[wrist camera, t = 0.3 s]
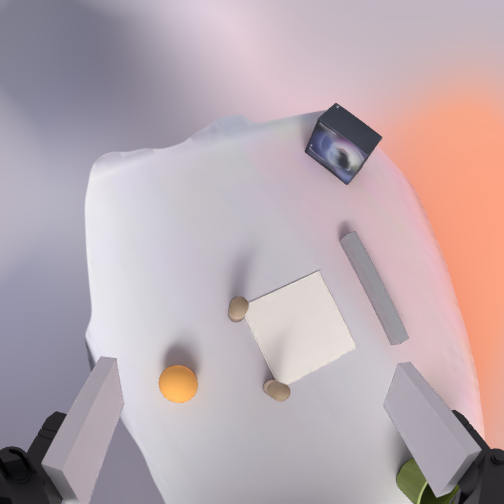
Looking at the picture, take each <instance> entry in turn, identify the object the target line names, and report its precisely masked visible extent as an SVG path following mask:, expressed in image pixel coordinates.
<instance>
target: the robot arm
mask: <svg viewBox="0 0 504 504" xmlns="http://www.w3.org/2000/svg"><path fill="white" fill-rule="evenodd" d="M123 406H124V400H123V395H122V390H121V384H120V378H119V372H118V366H117V359H116V358H109V357H102V356H101V357H100V359H99V360H98V362H97V364H96V365H95V367H94V369H93V370H92V372H91V374H90V375H89V377H88V379H87V381H86V382H85V384H84V386H83V387H82V389H81V391H80V393H79V394H78V396H77V398H76V400H75V401H74V403H73V405H72V407H71V409H70V410H69V412H68V414H64V413H60V412H55V413H53V414H52V415H51V416H49V417H48V418H47V419H46V421H45V422H44V424H43V426H42V429H40V431H39V432H38V436H36V438H35V439H34V441H33V443H32V445H31V446H30V448H29V450H28V452H27V453H26V452H25V451H23V450H22V449H21V448H18V447H6V448H3V449H1V450H0V504H61V503H62V500H63V501H64V502H65V504H89V502H90V499H91V496H92V493H93V490H94V487H95V484H96V481H97V478H98V475H99V472H100V469H101V466H102V464H103V461H104V458H105V455H106V452H107V449H108V447H109V444H110V441H111V438H112V435H113V433H114V430H115V427H116V424H117V422H118V419H119V417H120V414H121V411H122V409H123ZM383 407H384V408H385V410H386V412H387V413H388V415H389V417H390V418H391V420H392V422H393V423H394V425H395V427H396V428H397V430H398V432H399V433H400V435H401V437H402V438H403V440H404V442H405V444H406V445H407V447H408V449H409V450H410V452H411V454H412V456H413V457H414V459H415V461H416V463H417V464H418V466H419V468H420V469H421V471H422V473H423V475H424V476H425V478H426V480H427V482H428V484H429V485H430V487H431V489H432V491H433V492H434V494H435V496H436V498H437V497H440V496H443V495H445V494H448V493H450V492H451V491H452V490H453V489H454V487H455V486H456V485H457V484H458V486H459V487H460V489H459V490H458V492H457V493H456V494H455V495H454V497H453V498H452V499H451V500H450V502H449V504H451V503H452V502H453V501H454V500H455V503H454V504H504V451H503V450H501V449H495V448H494V449H490V448H489V446H488V445H487V444H486V442H485V441H484V440H483V439H482V437H481V436H480V435H479V434H478V433H477V431H476V430H474V428H473V426H472V425H471V424H469V422H468V420H467V419H466V418H465V417H464V415H462V414H461V413H459V412H458V411H456V410H452V411H451V410H450V409H449V408H448V407H447V405H446V404H445V403H444V402H443V400H442V399H441V398H440V397H439V396H438V394H437V393H436V392H435V391H434V389H433V388H432V387H431V386H430V385H429V383H428V382H427V381H426V380H425V379H424V378H423V376H422V375H421V374H420V373H419V372H418V370H417V369H416V368H415V367H414V366H413V365H412V363H411V362H407V363H398V365H397V368H396V371H395V374H394V377H393V380H392V383H391V386H390V388H389V391H388V394H387V397H386V399H385V402H384V405H383Z"/></svg>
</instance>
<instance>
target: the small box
mask: <svg viewBox="0 0 504 504" xmlns="http://www.w3.org/2000/svg"><path fill="white" fill-rule="evenodd" d="M381 139H382V137H381V136H380V135H379V134H378V133H376V132H375V131H374V130H373V129H371V128H370V127H369V126H367V125H366V124H365V123H363V122H362V121H361V120H359V119H358V118H357V117H355V116H354V115H352V114H351V113H350V112H348V111H347V110H346V109H344V108H343V107H341V106H340V105H338V104H337V103H335V104H334V105H333V106H332V107H330V108H329V109H328V110H327V111H326V112H325V113H324V114H323V115H321V116H320V117H319V118H318V121H317V123H316V126H315V128H314V131H313V133H312V136H311V138H310V141H309V143H308V145H307V148H306V150H305V152H306V153H307V154H308V155H310V156H311V157H312V158H314V159H315V160H316V161H317V162H319V163H320V164H321V165H323V166H324V167H325V168H326V169H328V170H329V171H330V172H332V173H333V174H334V175H335V176H336V177H338V178H339V179H340V180H341V181H343V182H344V183H345V184H346V185H348V184H349V182H350V181H351V180H352V179H353V178H354V176H355V175H356V174H357V173H358V172H359V170H360V169H361V168H362V166H363V164H364V163H365V162H366V160H367V159H368V157H369V156H370V154H371V153H372V151H373V150H374V149H375V147H376V146H377V144H378V143H379V142H380V140H381Z"/></svg>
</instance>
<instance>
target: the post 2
mask: <svg viewBox="0 0 504 504" xmlns="http://www.w3.org/2000/svg"><path fill="white" fill-rule="evenodd" d="M263 389H264V392H265V393H266V394H268V395H269V396H271V397H272V398H274V399H275V400H277V401H285V400H286V399H288V397H289V396H290V388H289V387H288V386H287V385H286V384H284V383H281V382H278V381H275V380H268V381H266V382H265V383H264V385H263Z"/></svg>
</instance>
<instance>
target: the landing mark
mask: <svg viewBox="0 0 504 504" xmlns="http://www.w3.org/2000/svg"><path fill="white" fill-rule="evenodd" d="M248 304H249V308H248V311H247V312H246V314H245V316H244V317H245V319H246V321H247V323H248V325H249V327H250V329H251V331H252V334H253V336H254V338H255V340H256V342H257V344H258V346H259V348H260V350H261V352H262V354H263V356H264V359H265V361H266V363H267V365H268V367H269V369H270V371H271V373H272V375H273V377H274V379H275V381H278V382H281V383H284V384H286V385H289V384H291V383H293V382H295V381H297V380H298V379H300V378H302V377H304V376H306V375H308V374H310V373H312V372H314V371H316V370H317V369H319V368H321V367H323V366H325V365H327V364H328V363H330V362H332V361H334V360H335V359H337V358H339V357H341V356H342V355H344V354H346V353H348V352H349V351H351V350H353V349H354V348H356V345H355V343H354V341H353V338H352V336H351V334H350V332H349V330H348V328H347V326H346V324H345V322H344V320H343V318H342V316H341V314H340V312H339V310H338V308H337V306H336V304H335V302H334V300H333V298H332V296H331V294H330V292H329V290H328V288H327V286H326V284H325V282H324V280H323V278H322V276H321V274H320V272H319V271H317V272H315V273H313V274H311V275H309V276H306V277H304V278H302V279H300V280H298V281H296V282H294V283H291V284H289V285H287V286H285V287H283V288H281V289H278V290H276V291H274V292H272V293H270V294H267V295H265V296H263V297H261V298H258V299H256V300H254V301H252V302H249V303H248Z"/></svg>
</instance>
